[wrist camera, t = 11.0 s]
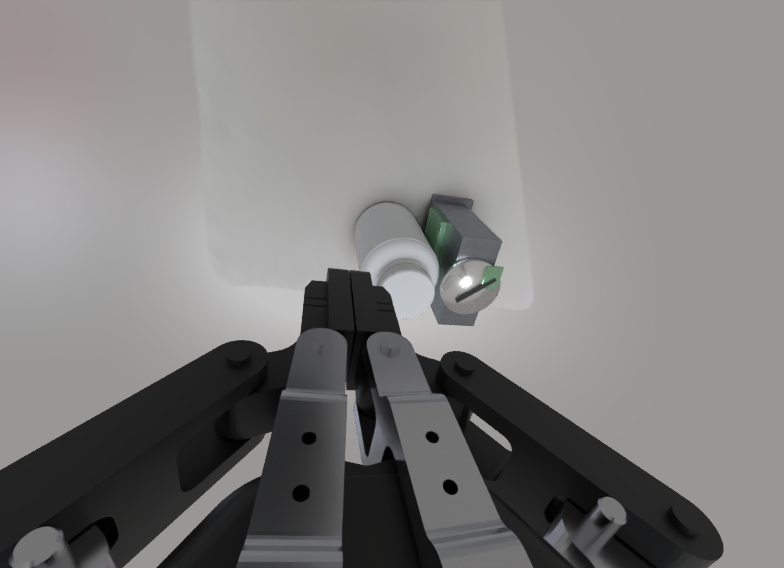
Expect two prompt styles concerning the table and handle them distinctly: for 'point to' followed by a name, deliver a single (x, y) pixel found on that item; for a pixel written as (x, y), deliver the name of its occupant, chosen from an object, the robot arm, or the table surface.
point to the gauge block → (461, 260)
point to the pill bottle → (397, 257)
